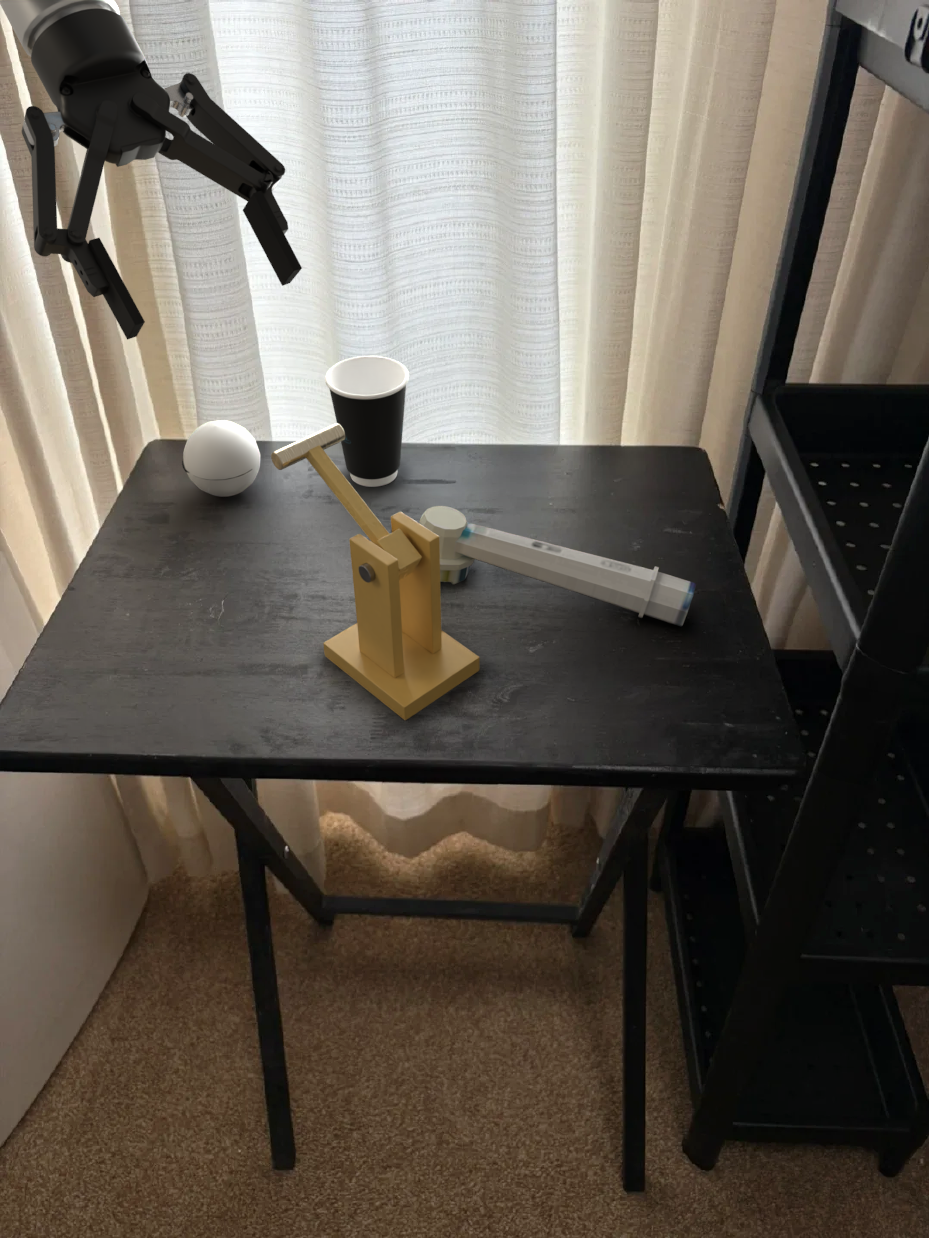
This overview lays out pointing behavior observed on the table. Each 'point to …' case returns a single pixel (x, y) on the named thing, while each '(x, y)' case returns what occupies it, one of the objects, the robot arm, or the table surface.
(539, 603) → the table surface
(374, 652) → the yellow lever stand
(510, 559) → the white handheld electric wand
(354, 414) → the dixie cup
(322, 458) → the tap lever
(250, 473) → the white sphere
